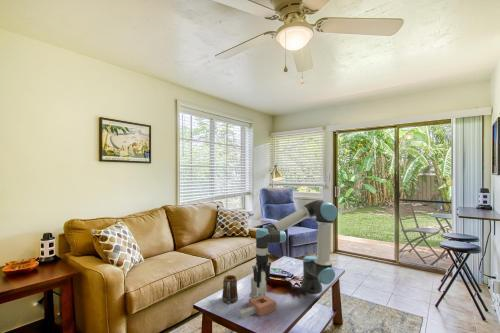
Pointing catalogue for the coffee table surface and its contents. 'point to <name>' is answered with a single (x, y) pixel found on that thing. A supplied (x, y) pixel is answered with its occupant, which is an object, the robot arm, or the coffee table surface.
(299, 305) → the coffee table surface
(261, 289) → the wedge pin
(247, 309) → the square hole peg fixture
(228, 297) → the mug
